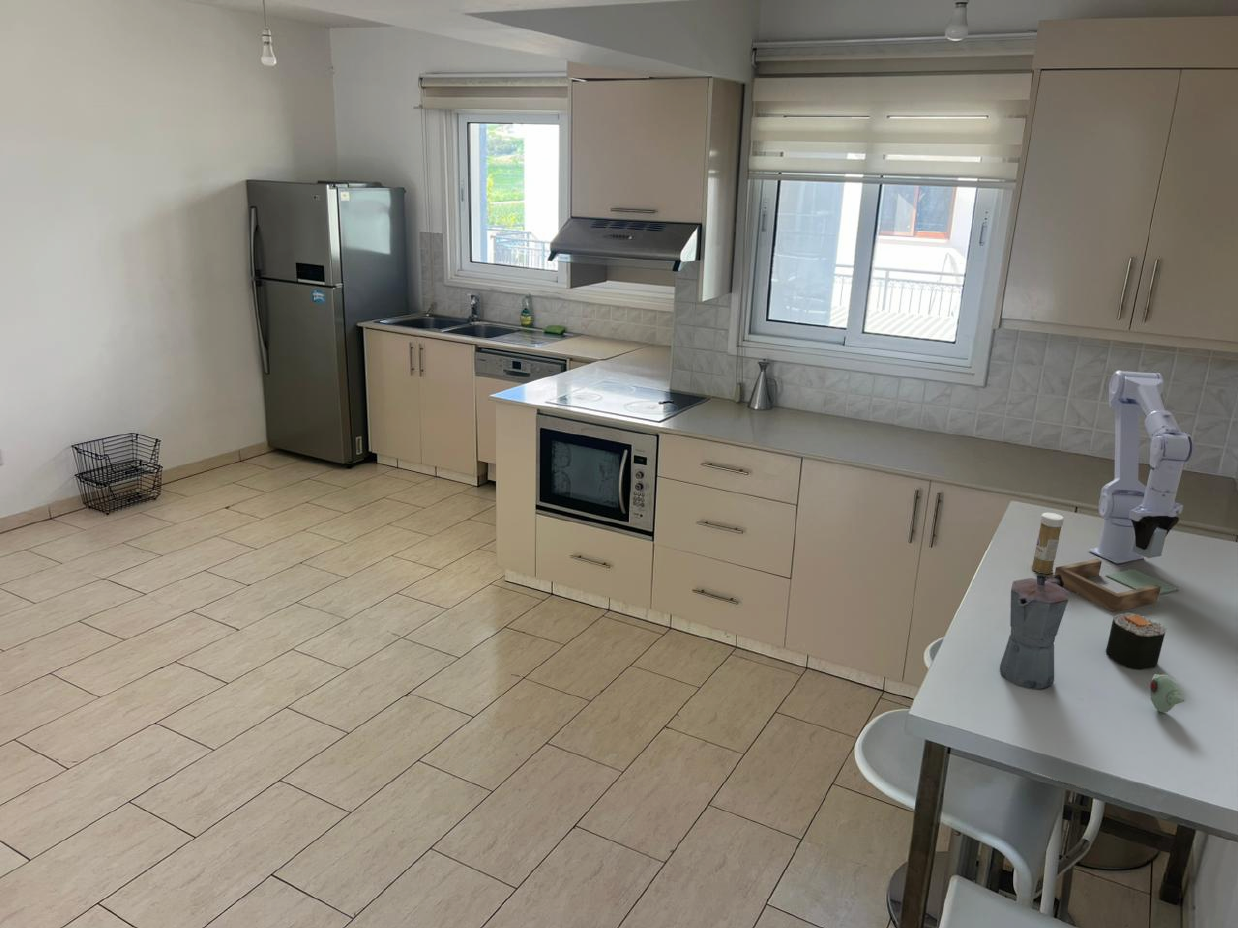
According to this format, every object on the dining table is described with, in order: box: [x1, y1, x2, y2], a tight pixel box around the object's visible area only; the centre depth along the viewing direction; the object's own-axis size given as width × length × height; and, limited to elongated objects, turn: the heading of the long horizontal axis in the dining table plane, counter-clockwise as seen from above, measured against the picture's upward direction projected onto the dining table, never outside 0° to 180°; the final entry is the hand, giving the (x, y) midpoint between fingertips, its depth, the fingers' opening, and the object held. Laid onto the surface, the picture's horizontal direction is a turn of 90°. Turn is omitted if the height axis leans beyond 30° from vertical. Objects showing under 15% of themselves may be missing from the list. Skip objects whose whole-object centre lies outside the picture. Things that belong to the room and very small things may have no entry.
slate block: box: [1132, 527, 1167, 559], centre depth 198 cm, size 4×4×6 cm
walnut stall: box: [1053, 558, 1161, 613], centre depth 196 cm, size 13×15×4 cm
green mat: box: [1105, 568, 1179, 595], centre depth 202 cm, size 9×11×1 cm
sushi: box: [1105, 612, 1167, 670], centre depth 168 cm, size 8×8×8 cm
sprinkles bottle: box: [1031, 512, 1065, 575], centre depth 204 cm, size 5×5×14 cm
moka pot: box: [999, 574, 1069, 690], centre depth 159 cm, size 10×15×20 cm, turn 135°
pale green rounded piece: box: [1149, 673, 1186, 714], centre depth 151 cm, size 8×4×7 cm, turn 175°
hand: (1147, 546), depth 199 cm, fingers closed on slate block, 4 cm apart
